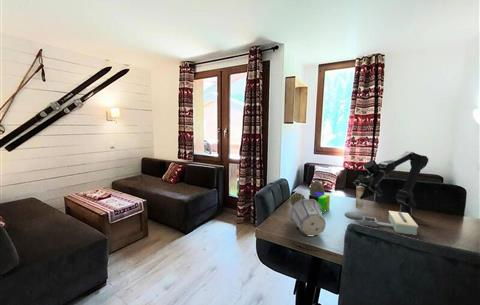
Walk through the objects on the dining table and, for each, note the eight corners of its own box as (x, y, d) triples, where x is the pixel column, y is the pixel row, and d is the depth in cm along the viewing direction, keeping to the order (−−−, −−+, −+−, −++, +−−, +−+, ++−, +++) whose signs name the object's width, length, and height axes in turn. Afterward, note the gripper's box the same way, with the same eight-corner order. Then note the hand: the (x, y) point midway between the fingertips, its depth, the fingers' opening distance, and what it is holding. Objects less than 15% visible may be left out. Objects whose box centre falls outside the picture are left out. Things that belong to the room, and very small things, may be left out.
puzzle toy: (315, 205, 160) (315, 192, 159) (329, 209, 153) (329, 195, 151) (308, 209, 153) (309, 195, 152) (322, 213, 146) (323, 198, 144)
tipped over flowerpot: (333, 212, 111) (310, 183, 139) (298, 215, 109) (282, 185, 137) (329, 239, 117) (308, 206, 145) (296, 243, 116) (281, 208, 144)
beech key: (355, 206, 139) (356, 185, 137) (364, 207, 136) (365, 186, 135) (354, 208, 135) (355, 187, 134) (363, 209, 133) (364, 188, 131)
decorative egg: (307, 197, 178) (308, 179, 176) (321, 197, 177) (322, 179, 175) (311, 202, 167) (312, 182, 165) (326, 202, 167) (326, 182, 165)
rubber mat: (344, 212, 147) (344, 211, 147) (361, 214, 143) (361, 213, 143) (344, 217, 138) (345, 217, 138) (363, 220, 134) (363, 219, 134)
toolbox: (361, 215, 142) (361, 205, 141) (407, 221, 132) (407, 211, 132) (364, 227, 125) (365, 217, 124) (417, 235, 115) (418, 224, 115)
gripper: (356, 167, 143) (340, 185, 142) (379, 173, 125) (361, 193, 124) (366, 178, 145) (350, 196, 145) (390, 186, 127) (372, 206, 126)
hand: (357, 197), depth 135 cm, fingers closed on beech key, 4 cm apart
